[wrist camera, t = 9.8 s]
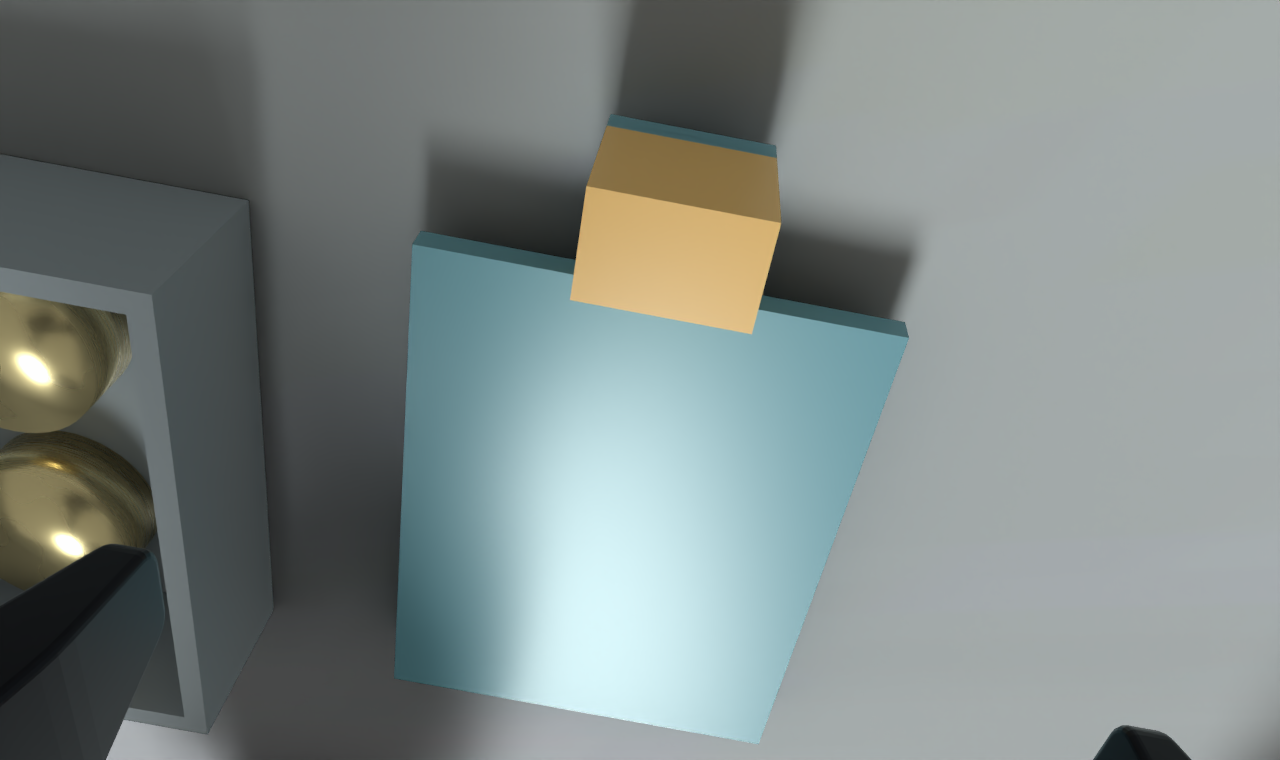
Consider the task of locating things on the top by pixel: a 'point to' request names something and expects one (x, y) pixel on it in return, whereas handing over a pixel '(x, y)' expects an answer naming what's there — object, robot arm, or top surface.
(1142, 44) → the top surface
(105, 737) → the robot arm
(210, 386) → the tub
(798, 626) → the lid
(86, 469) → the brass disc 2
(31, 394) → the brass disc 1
